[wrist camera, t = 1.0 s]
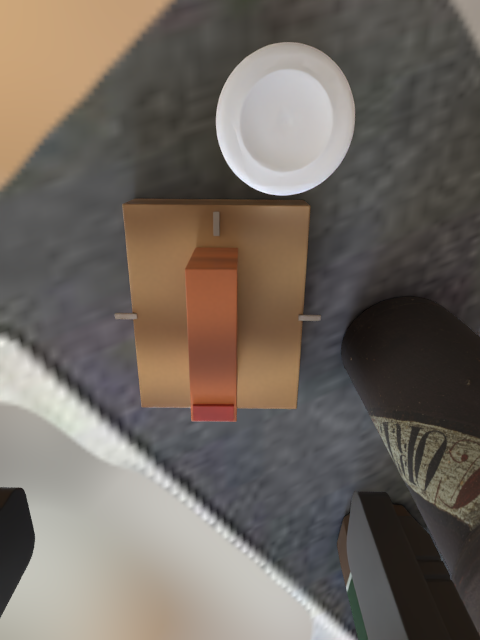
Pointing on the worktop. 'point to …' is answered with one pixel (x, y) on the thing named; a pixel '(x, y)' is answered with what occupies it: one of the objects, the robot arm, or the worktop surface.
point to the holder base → (253, 293)
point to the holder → (213, 333)
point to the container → (427, 419)
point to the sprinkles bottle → (285, 118)
